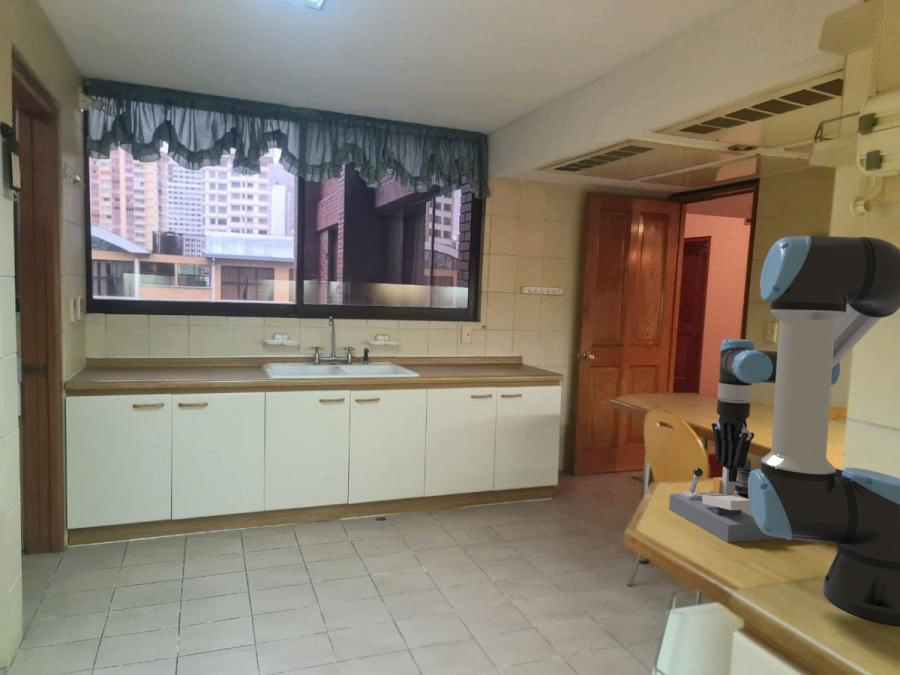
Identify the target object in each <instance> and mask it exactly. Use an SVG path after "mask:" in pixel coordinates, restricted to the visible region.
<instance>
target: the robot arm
mask: <svg viewBox="0 0 900 675" xmlns="http://www.w3.org/2000/svg"><path fill="white" fill-rule="evenodd" d="M762 266H763V267H762V269H761V272H760V273H761V274H760V279H759V289H760V291H759V292H760V297H761V299H762V300H764V301H766V302H767V303H770V310H769V311H770V313H771V314H772V315H773V316H774V317H775V318H776V319H777V320H778V323H779V324H778V336H777V337H778V338H777V339H778V340H777V350H763V349H762V350H758V349H755V342H754V341H753V340H750V339H738V338H737V339H736V338H735V339H734V338H725V339H723V340H722V341H721V346H720V351H719V358H720V359H719V374H718V375H719V376H718V387H717V398H718V400H717V404H716V406H717V407H716V414H717V415H718V416H719V418H718V421H717V422H713V423H711V428H712V431H713V440H714V451H715V459H716V461H717V463H718V462H719V464H720V466H721V478H722V492H723V493H725V494H734V493H736V491H735V482H736V481H737V479H738V469H739V468H744V466H745V462H746V458H748V455H749V454H748V453H749V450H750V447H751V442H752V441H753V439H754V437H755V433H753V432H750V431H749V430H748V424H747V419H748V418H749V417H750V416H751V403H750V402H749V401H751V398H752V397H751V396H752V384H753V385H754V384H755V385H756V384H763V383H765V384H775V386H774V388H775V389H774V402H773V415H772V416H773V418H772V432H771V434H772V436H771V448H770V451H769V452H768V453H767V454H766V455H764V456H763V457H761V461H760V468H755V469H753V470H751V472H750V474H749V478H748V496H749V502H750V507H751V511H752V514H753V517H754V520H755V522H756V524H757V526H758V527H759V529H760V530H761V531H762V532H763V533H764V534H766V535H769V536H774V537H780V538H786V539H785V540H787V541H791V540H797V541H798V540H799V541H808V542H816V543H817V542H818V543H819V542H820V543H828V544H829V543H830V544H837V552H836V554H835V557H834V558H833V561H832V563H831V564H830V566H829V569H828V572H827V574H826V575H825V576H824V580H823V586H822V593H823V595H824V597H825V598H826V600H828V601H829V602H830V603H832V604H833V605H835V606H837V607H838V608H840V609H842V610H844V611H845V612H846V611H847V612H848V613H851V614H853V615H856V616H858V617H861V618H864V619H867V620H870V621H873V622H874V621H875V622H879V623H882V624H887V625H894V626H900V477H896V476H892V475H889V474H886V473H882V472H878V471H875V470H869V469H865V468H860V467H845V468H844V469H843V472H842V477H836V476H835V472H836V469H837V468H836V467H834V465H832V463H831V462H830V461H829V460H828V458H827V450H828V436H829V423H830V422H829V420H830V406H831V405H830V403H831V391H832V390H831V389H832V386H833V385H835V384H836V383H837V382H838V381H839V380H838V378H839V377H840V375H841V374H840V373H841V363H840V361H841V360H843V358H844V357H845V356H846V355H847V354H848V353H849V352H850V351H851V350H852V349H853V348H854V347H855V346H856V345H857V344H858V343H859V342H860V341H861V339H862V338H864V337H865V335H867V333H869V331H870V330H871V329H872V328H874V326H875V325H876V324H877V323H878V322H879V321H880V320H881V319H883V318H888V317H890V316H892V315H894V314H895V313H896V312H897V311H898V310H899V309H900V248H899V247H898V246H896V244H893V243H891V242H890V241H888V240H885V239H882V238H878V237H871V236H861V237H857V236H856V237H855V236H853V237H852V236H829V235H827V236H825V235H799V236H786V237H785V236H784V237H782V238H780V239H778V240H777V241H776V242H775V243H773V245H771V248H770V249H769V251H768V253H767V255H766V257H765V259H764V262H763V265H762Z"/></svg>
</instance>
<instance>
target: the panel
mask: <svg viewBox="0 0 900 675" xmlns="http://www.w3.org/2000/svg"><path fill="white" fill-rule="evenodd" d="M735 493H736V492H735ZM735 493H734V494H732V495H731V496H736V497H741V496H739V495H737V494H735ZM705 494H714V493H713V490H711V491H709V492H694V493H691V492H690V491H681V492H680V493H670V494H669V505H668V510H670V512H673V513H675V514H677V515H678V516H680V517H682V518H684V519H685V520H687V521H689V522H691V523H692V524H694V525H695V526H697V527H699V528H701V529H703V530H704V531H706V532H708V533H710V534H711V535H713V536H715V537H717V538H719V540H722V541H724V542H726V543H741V542H742V543H745V542H756V541H757V542H759V541H773V540H787V539H786V538H780V537H774V536H769V535H766V534H764V533H763V532H762V531H761V530H760V529H759V527H758V526H757V524H756V522H755V520H754V517H753V514H752V511H751V509H745V510H728V509H724V508H720V507H715V506H711V505H707V504H703V502H702V495H705ZM741 498H744V497H741Z"/></svg>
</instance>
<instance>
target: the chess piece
mask: <svg viewBox="0 0 900 675" xmlns="http://www.w3.org/2000/svg"><path fill="white" fill-rule="evenodd" d="M751 466H752V461H751V459H750V458H748V457H747V458H746V462H745V466H744V468H738V470H737V480H736V482H735V494H737V495H739V496H741V497H744V498H746V499H749V496H748V478H749V474H750V472H751V471H752V470H751V469H752V468H751Z"/></svg>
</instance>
